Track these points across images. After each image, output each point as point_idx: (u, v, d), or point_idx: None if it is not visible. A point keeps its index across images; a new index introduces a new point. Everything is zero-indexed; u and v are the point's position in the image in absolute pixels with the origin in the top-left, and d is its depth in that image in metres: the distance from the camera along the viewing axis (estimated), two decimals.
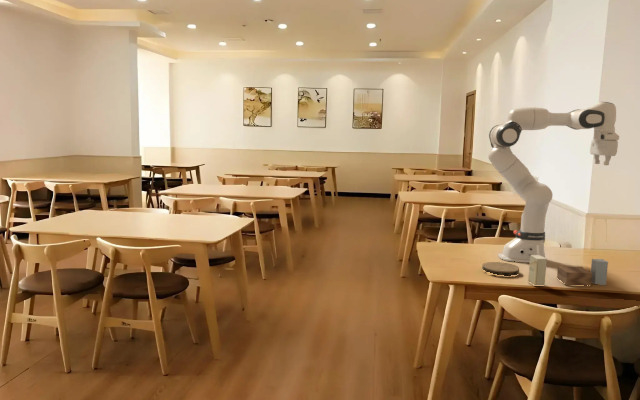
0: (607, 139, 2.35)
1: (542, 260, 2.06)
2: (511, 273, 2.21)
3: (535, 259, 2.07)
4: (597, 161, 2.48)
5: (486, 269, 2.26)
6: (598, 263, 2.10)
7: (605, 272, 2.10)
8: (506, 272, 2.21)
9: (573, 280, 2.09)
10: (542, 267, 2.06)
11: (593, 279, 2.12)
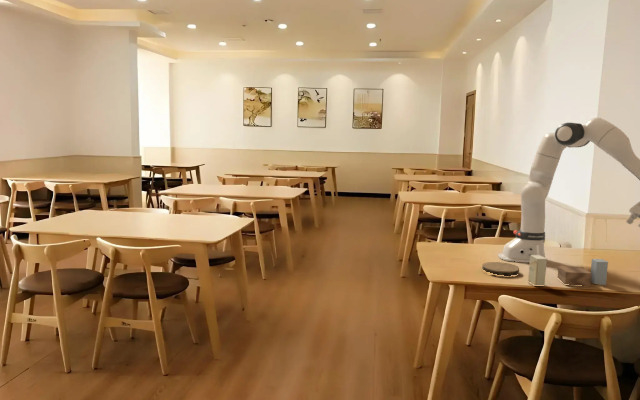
0: None
1: (542, 260, 2.06)
2: (511, 273, 2.21)
3: (535, 259, 2.07)
4: (630, 220, 2.12)
5: (486, 269, 2.26)
6: (598, 263, 2.10)
7: (605, 272, 2.10)
8: (506, 272, 2.21)
9: (572, 280, 2.09)
10: (542, 267, 2.06)
11: (593, 279, 2.12)
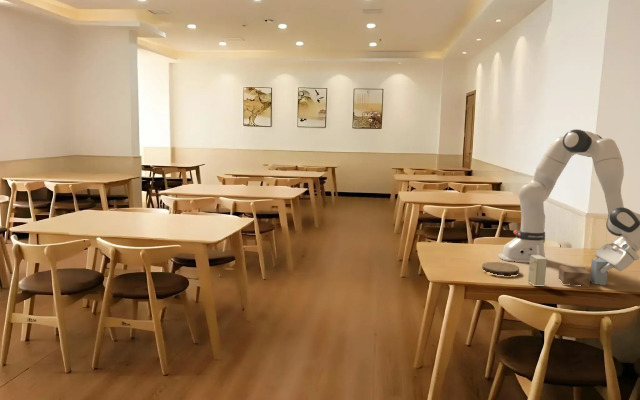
0: (627, 251, 2.02)
1: (542, 260, 2.06)
2: (511, 273, 2.21)
3: (535, 259, 2.07)
4: None
5: (486, 269, 2.26)
6: (598, 263, 2.10)
7: (605, 272, 2.10)
8: (506, 272, 2.21)
9: (570, 280, 2.09)
10: (542, 267, 2.06)
11: (593, 279, 2.12)
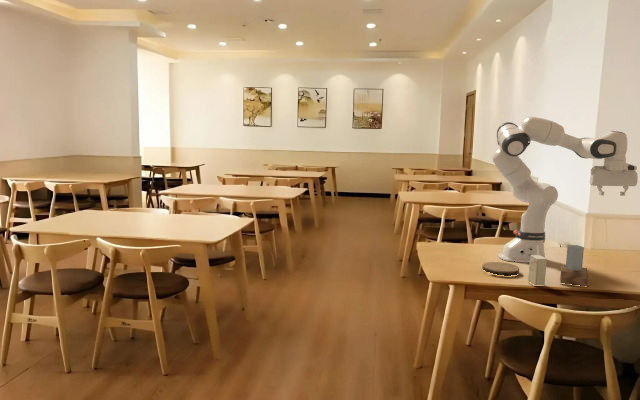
0: None
1: (542, 260, 2.06)
2: (511, 273, 2.21)
3: (535, 259, 2.07)
4: None
5: (486, 269, 2.26)
6: (575, 249, 2.10)
7: (581, 257, 2.11)
8: (506, 272, 2.21)
9: (568, 279, 2.10)
10: (542, 267, 2.06)
11: (570, 265, 2.12)
